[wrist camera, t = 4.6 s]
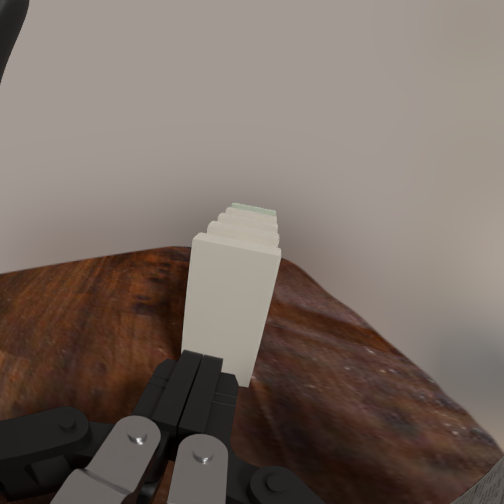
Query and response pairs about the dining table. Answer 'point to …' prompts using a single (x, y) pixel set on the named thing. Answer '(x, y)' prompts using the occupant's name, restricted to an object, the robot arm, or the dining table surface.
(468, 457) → the dining table surface
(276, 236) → the domino
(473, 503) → the candy bar box
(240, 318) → the domino
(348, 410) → the dining table surface
